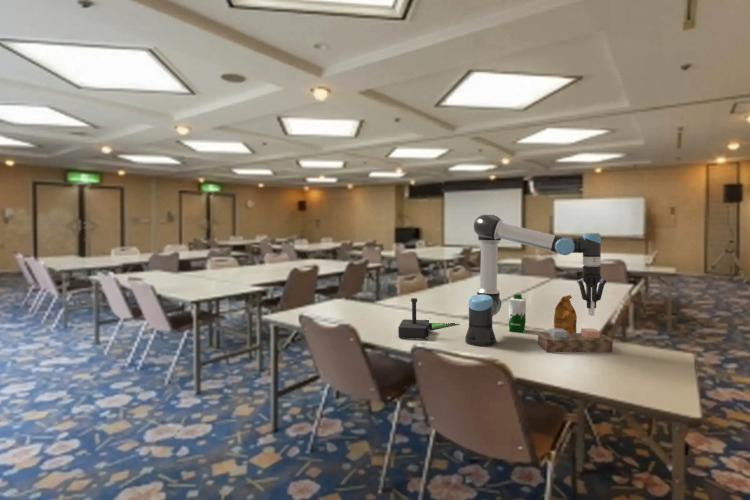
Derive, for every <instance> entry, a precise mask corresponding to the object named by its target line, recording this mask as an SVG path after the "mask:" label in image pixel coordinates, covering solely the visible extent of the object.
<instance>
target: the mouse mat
mask: <svg viewBox="0 0 750 500" xmlns="http://www.w3.org/2000/svg"><path fill="white" fill-rule="evenodd" d="M453 326H458V324H455V323H450V324H449V323H448V324H447V323H446V324H445V323H432V330H431V331H433V330H437V329H438V330H439V329H444V328H449V327H453Z"/></svg>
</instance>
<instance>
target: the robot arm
mask: <svg viewBox="0 0 750 500" xmlns="http://www.w3.org/2000/svg"><path fill="white" fill-rule="evenodd" d="M473 230H474V232H475V234H476V235H477V236H478V238H477V240H478V242H479V243H480V275H479V277H480V278H479V279H480V281H479V282H480V286H479V288H478V290H477V291H476V294H474V295H472V296H470V297H469V299H468V328H467V332H466V334H465V336H464V337H465V338H464V339H465V340H464V341H465V343H466V344H469V345H471V346H475V347H476V346H478V347H490V346H494V345H495V344H497V338H496V334H495V331H494V328H493V317H494V316H495V315H497V314H498V313H499V312H500V310H501V308H502V300H501V298H500V291H499V290H498V287H497V286H498V258H499V257H498V256H499V255H498V254H499V253H498V248H499V245H498V244H500V242H501V241H502V240H506V241H508V242H509V241H510V242H513V243H517V244H522V245H525V246H529V247H532V248H538V249H542V250H546V251H549V252H553V253H556V254H559V255H562V256H569V255H570V254H575V253H576V254H577V253H579V254H582V265H583V266H582V276H581V278H580V279H579V280H578V279H577V281H576V283H577V284H578V287H579V291H580V294H581V299H582V300H584V301H586V309H588V315H589V316H591V317H594V316H595V309H597V303H598V301H601V299H602V295H603V290H604V287H605V285H606V284H607V280H605V279H604V278H602V275H601V272H602V270H601V268H602V267H601V259H602V257H601V252H602V251H601V250H602V241H601V234H600V233H599V232H584V233H583V234H582V236H580V237H575V236H574V237H571V236H570V237H564V236H561V235H560V236H559V235H555V234H552V233H546V232H543V231H537V230H534V229H528V228H526V227H521V226H517V225H512V224H507V223H505V222H503V221H502V219H501V218H500V217H499V216H497V215H494V214H481V215H479V216H477V218H476V219H475V221H474V222H473ZM584 284H585V285H584Z"/></svg>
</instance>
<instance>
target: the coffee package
mask: <svg viewBox="0 0 750 500" xmlns="http://www.w3.org/2000/svg"><path fill="white" fill-rule="evenodd" d="M570 299H572V295H571V294H567V295H564V296H562V297H561V298H560V300H559V302H558V303H557V305H556V306H555V309H554V316H553V328H562V329H564V330H565V331H567V333H577V322H578V321H577V318H578V317H577V313H576V310H575V307H574V306H573V305H572V302H571V300H570Z"/></svg>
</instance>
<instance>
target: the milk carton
mask: <svg viewBox="0 0 750 500" xmlns="http://www.w3.org/2000/svg"><path fill="white" fill-rule="evenodd" d="M526 301H527V300H526V298H523V296H522V294H521V293H520V294H519V293H517V294H514V295H513V297H511V298H509V300H508V329H509V332H511V333H519V334H520V333H523V332H524V331H525V329H526V321H527V318H526V317H527V313H526V312H527V308H526Z"/></svg>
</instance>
